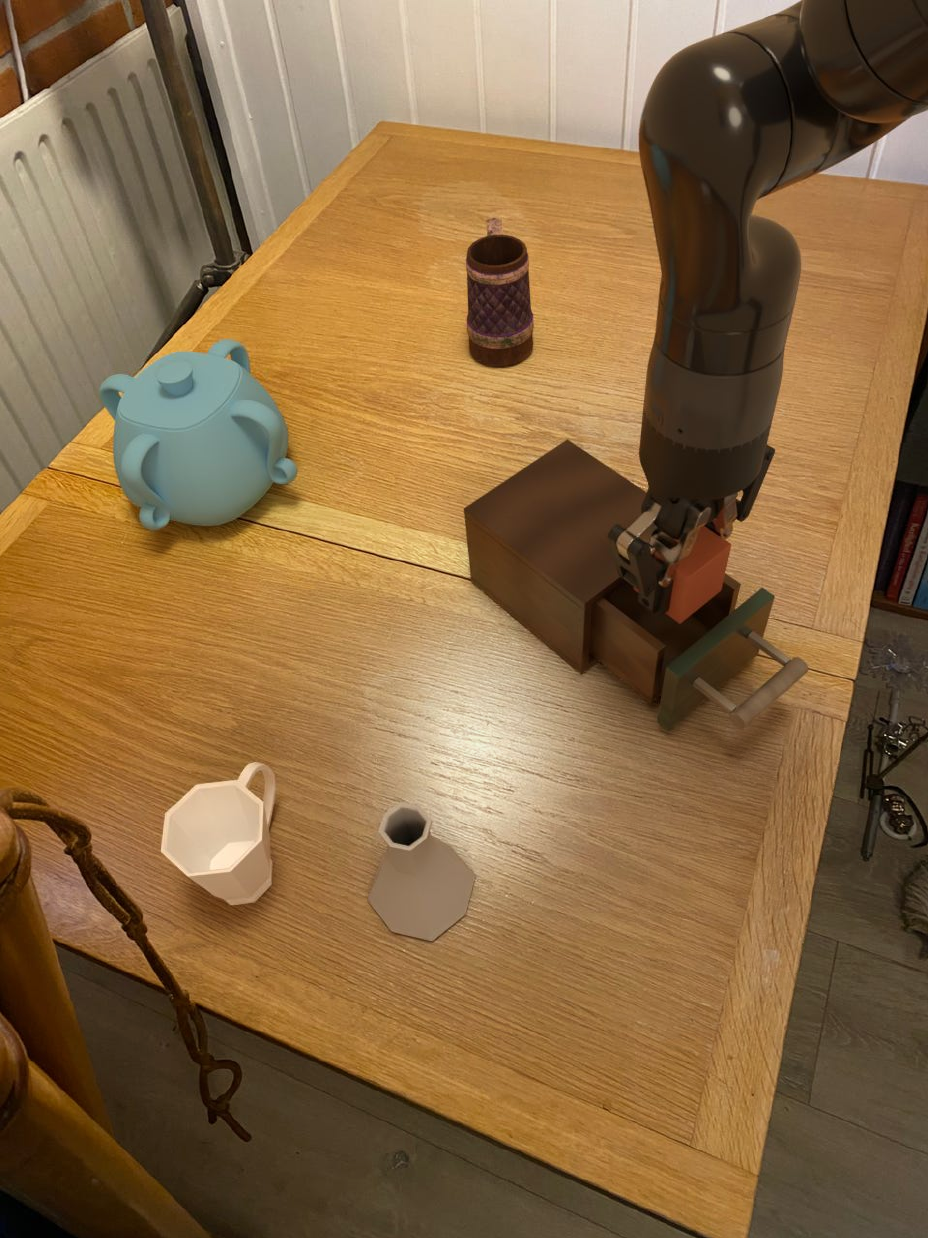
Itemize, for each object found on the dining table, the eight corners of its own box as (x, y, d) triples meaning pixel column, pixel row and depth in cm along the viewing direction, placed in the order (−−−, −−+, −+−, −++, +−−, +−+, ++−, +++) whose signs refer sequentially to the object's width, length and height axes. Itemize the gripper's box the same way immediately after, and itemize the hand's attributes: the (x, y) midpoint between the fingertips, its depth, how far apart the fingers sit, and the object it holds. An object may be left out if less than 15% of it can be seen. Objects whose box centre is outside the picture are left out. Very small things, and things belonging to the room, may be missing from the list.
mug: (535, 367, 101) (533, 264, 92) (468, 370, 101) (459, 268, 92) (532, 310, 107) (530, 208, 98) (469, 313, 108) (461, 212, 98)
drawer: (809, 692, 73) (832, 634, 67) (720, 774, 69) (735, 721, 63) (640, 568, 82) (647, 508, 76) (552, 635, 78) (553, 578, 72)
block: (674, 557, 72) (681, 510, 68) (721, 590, 69) (732, 543, 65) (632, 589, 70) (637, 543, 66) (679, 624, 68) (688, 578, 64)
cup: (177, 909, 67) (138, 862, 60) (239, 786, 72) (209, 730, 66) (268, 937, 65) (237, 890, 59) (323, 808, 71) (301, 753, 64)
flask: (436, 961, 63) (419, 904, 55) (349, 906, 66) (322, 844, 58) (493, 872, 67) (486, 807, 59) (409, 823, 70) (391, 754, 62)
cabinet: (679, 597, 81) (691, 522, 74) (581, 675, 76) (584, 603, 69) (566, 514, 88) (567, 438, 80) (470, 581, 83) (463, 508, 76)
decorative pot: (127, 450, 98) (74, 338, 87) (281, 411, 100) (247, 296, 89) (141, 563, 88) (82, 452, 77) (311, 517, 90) (277, 402, 79)
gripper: (675, 494, 52) (649, 674, 65) (838, 374, 57) (782, 564, 70) (576, 429, 55) (571, 612, 69) (737, 322, 60) (703, 511, 74)
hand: (678, 587), depth 69 cm, fingers closed on block, 4 cm apart
